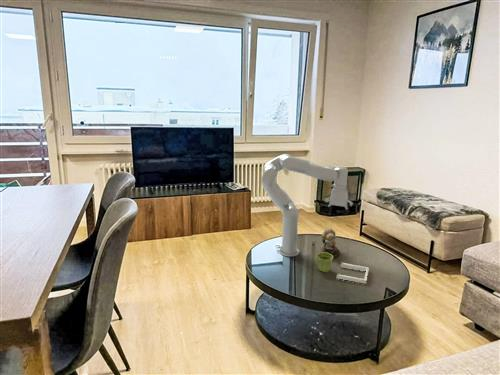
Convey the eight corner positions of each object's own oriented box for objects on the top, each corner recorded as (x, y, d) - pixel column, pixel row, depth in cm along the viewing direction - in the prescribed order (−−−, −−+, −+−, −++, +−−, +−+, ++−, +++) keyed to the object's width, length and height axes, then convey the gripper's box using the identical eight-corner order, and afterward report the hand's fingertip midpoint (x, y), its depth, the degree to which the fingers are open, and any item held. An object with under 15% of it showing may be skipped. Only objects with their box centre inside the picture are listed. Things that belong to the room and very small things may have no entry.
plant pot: (335, 269, 196) (336, 255, 194) (326, 275, 189) (327, 261, 187) (321, 264, 202) (322, 250, 200) (312, 270, 195) (313, 256, 193)
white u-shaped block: (336, 279, 186) (336, 273, 185) (340, 266, 199) (341, 261, 198) (365, 284, 180) (366, 279, 179) (368, 271, 193) (368, 266, 192)
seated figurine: (340, 260, 207) (341, 234, 202) (320, 258, 209) (321, 233, 205) (338, 247, 224) (340, 223, 219) (320, 246, 226) (321, 222, 222)
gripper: (324, 186, 208) (322, 213, 212) (353, 190, 200) (350, 217, 205) (327, 184, 214) (325, 209, 219) (355, 187, 207) (353, 214, 211)
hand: (337, 213), depth 212 cm, fingers open, 9 cm apart
